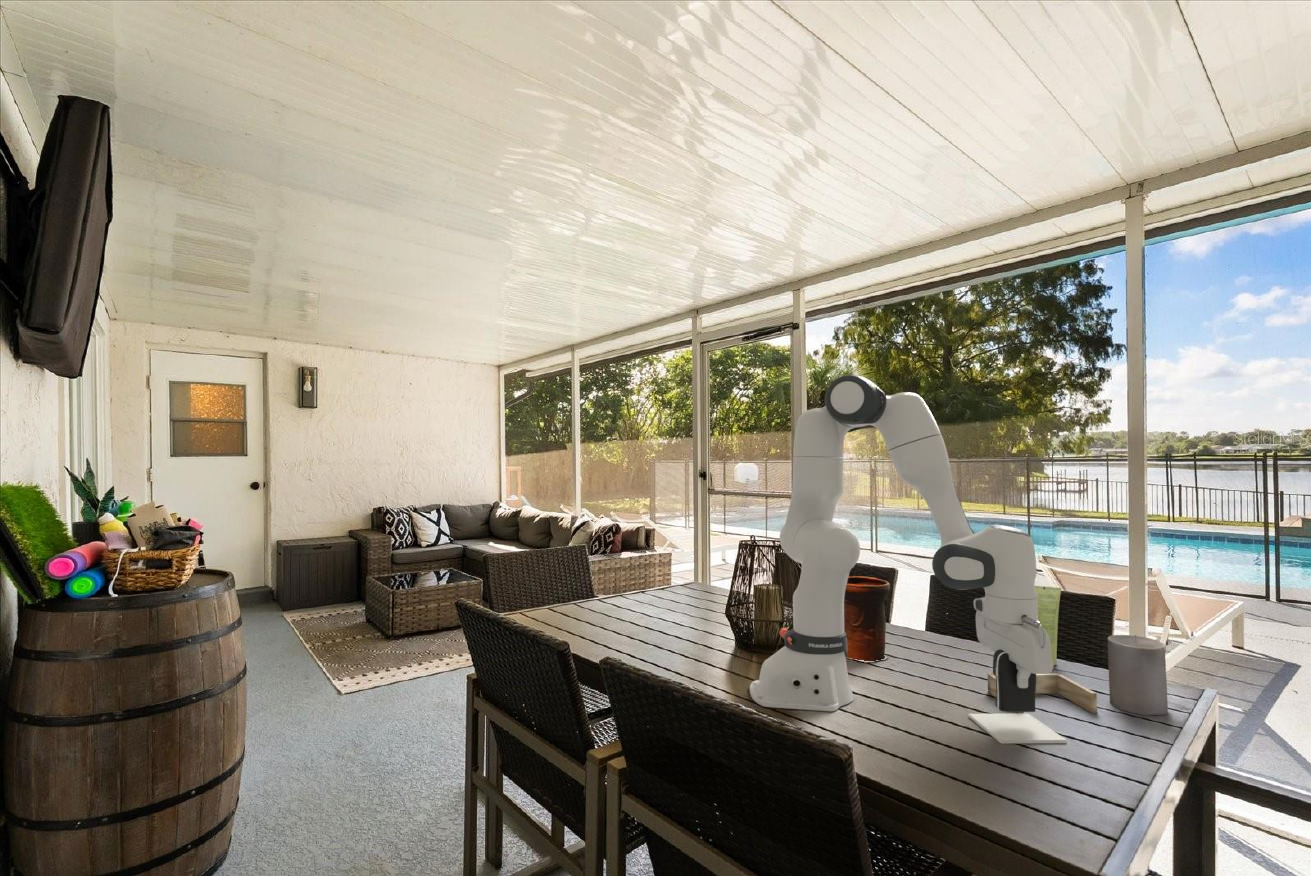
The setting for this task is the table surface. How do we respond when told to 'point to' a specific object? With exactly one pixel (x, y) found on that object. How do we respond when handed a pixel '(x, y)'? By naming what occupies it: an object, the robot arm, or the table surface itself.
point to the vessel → (865, 617)
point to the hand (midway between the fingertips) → (1013, 681)
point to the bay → (1058, 689)
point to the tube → (1049, 613)
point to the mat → (1016, 728)
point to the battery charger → (1012, 686)
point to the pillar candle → (1137, 674)
